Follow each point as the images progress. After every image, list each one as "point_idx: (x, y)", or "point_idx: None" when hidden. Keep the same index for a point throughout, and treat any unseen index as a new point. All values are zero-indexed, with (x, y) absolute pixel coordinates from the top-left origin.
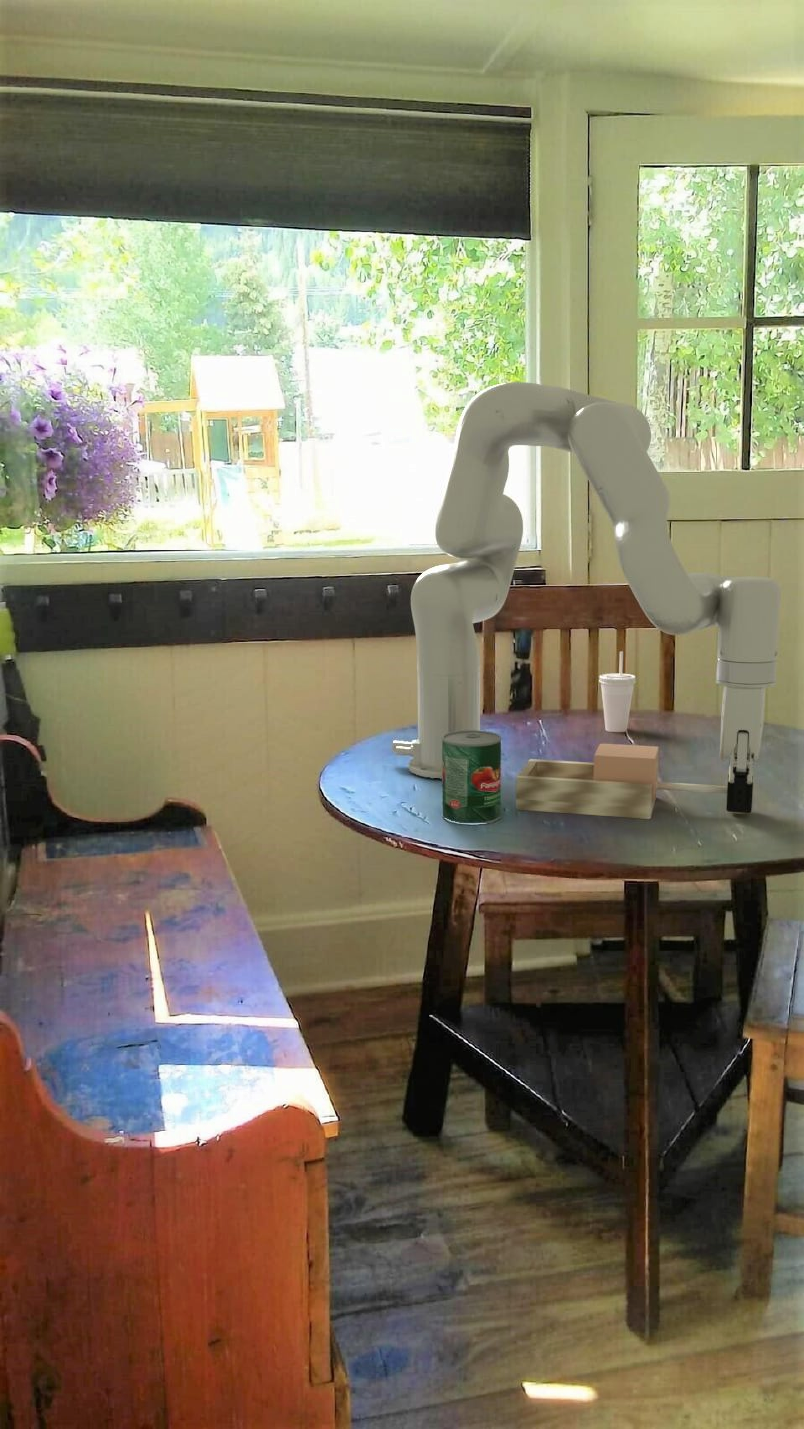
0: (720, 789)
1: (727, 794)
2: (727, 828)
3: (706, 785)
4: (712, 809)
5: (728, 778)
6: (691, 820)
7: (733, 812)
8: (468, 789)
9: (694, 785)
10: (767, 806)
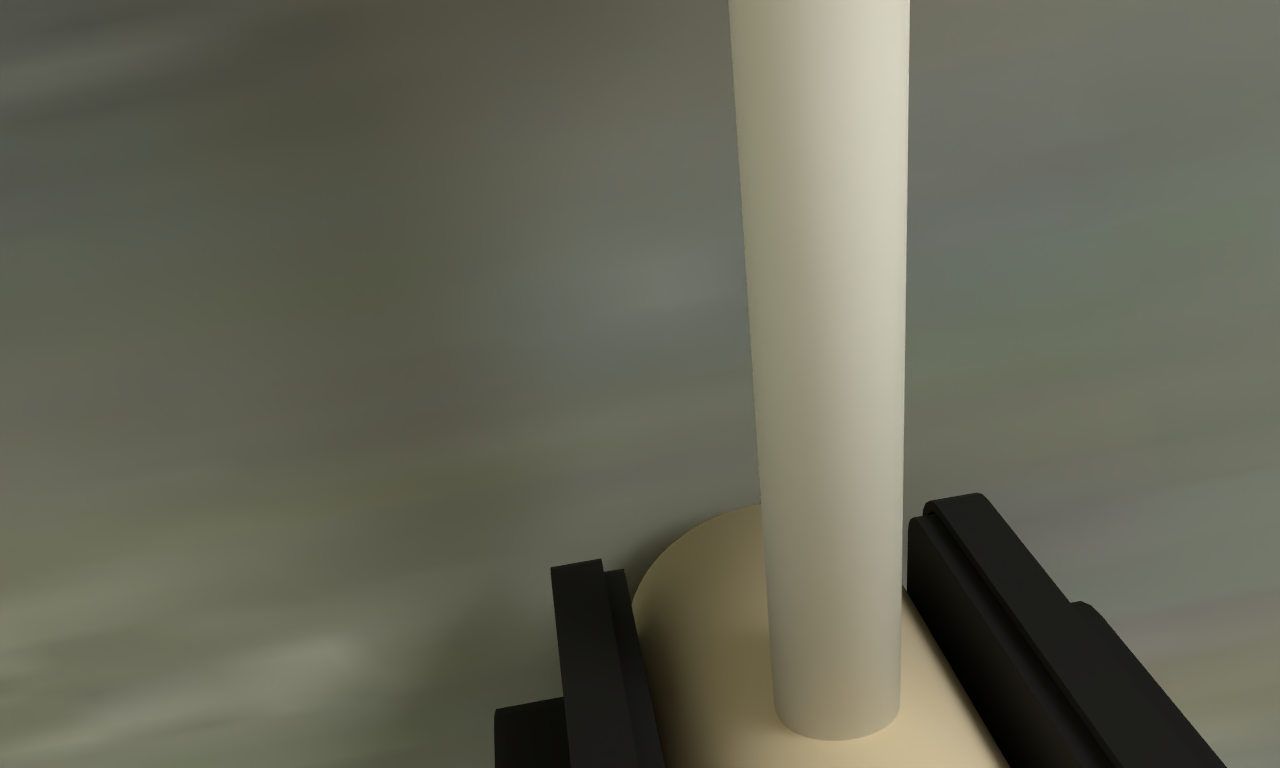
0: (779, 616)
1: (572, 733)
2: (102, 600)
3: (824, 421)
4: None
5: (1110, 760)
6: (197, 127)
7: (641, 589)
8: None
9: (788, 183)
10: None
